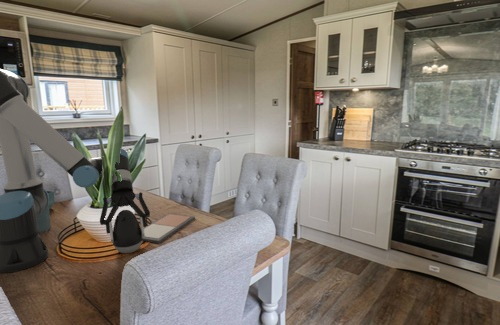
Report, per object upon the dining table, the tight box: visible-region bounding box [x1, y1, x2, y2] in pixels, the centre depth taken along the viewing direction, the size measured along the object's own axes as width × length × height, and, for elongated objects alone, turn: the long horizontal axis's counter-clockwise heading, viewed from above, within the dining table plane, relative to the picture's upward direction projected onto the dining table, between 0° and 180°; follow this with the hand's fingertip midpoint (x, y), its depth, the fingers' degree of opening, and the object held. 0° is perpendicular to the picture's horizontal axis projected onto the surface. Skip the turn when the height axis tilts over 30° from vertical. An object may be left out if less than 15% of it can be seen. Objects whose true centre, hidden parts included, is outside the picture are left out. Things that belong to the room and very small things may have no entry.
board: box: [142, 213, 196, 244], centre depth 130 cm, size 26×14×1 cm, turn 159°
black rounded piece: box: [112, 209, 143, 254], centre depth 109 cm, size 10×10×15 cm
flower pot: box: [46, 190, 55, 210], centre depth 157 cm, size 9×9×9 cm
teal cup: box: [36, 202, 52, 234], centre depth 131 cm, size 10×10×12 cm
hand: (128, 238), depth 107 cm, fingers closed on black rounded piece, 9 cm apart
